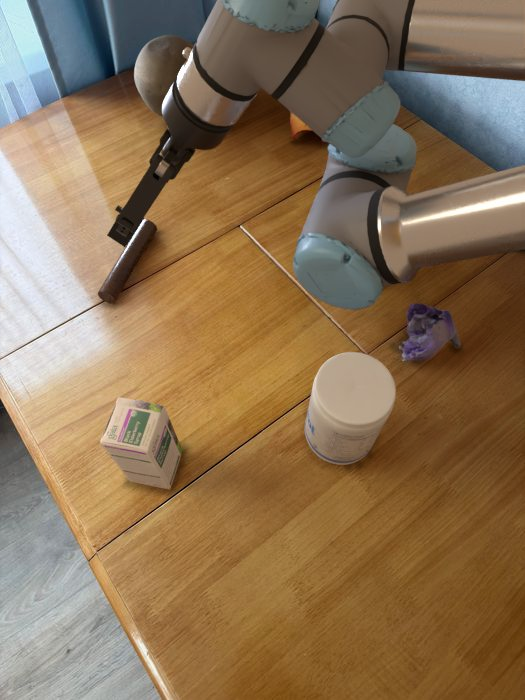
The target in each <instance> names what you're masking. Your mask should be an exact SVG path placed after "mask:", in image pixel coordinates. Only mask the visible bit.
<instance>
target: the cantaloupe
mask: <svg viewBox="0 0 525 700" xmlns="http://www.w3.org/2000/svg"><path fill="white" fill-rule="evenodd" d="M186 47H189V48H190V49H191V50H192V49H193V47H194V44H193V43H192V42H191V41H189V40H187V39H184V38H182V37H180V36H178V35H173V34H165V35H162V36H158V37H156V38H153V39H151V40H150V41H148V42H147V43H146V44H145V45H144V46H143V48H142V49H141V50H140V52H139V54H138V56H137V57H136V61H135V65H134V71H133V77H134V83H135V86H136V88H137V91H138V93H139V94H140V97H141V99H142V101H143V102H144V104H145V105H146V106H147V108H148V109H149V110H150V111H151V112H153V113H155V114H156V115H157V116H159V117H161V118H163V114H162V105H163V101H164V99H165V97H166V95H167V94H168V92H169V90H170V88H171V86H172V84H173V82H174V81H175V79H176V78H177V77H178V75H179V73H180V71H181V69H182V67H183V65H184V63H185V62H186V61H187V59H186V58H185V57H184V56H183V50H184V49H185V48H186Z"/></svg>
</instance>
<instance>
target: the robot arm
mask: <svg viewBox="0 0 525 700" xmlns="http://www.w3.org/2000/svg"><path fill="white" fill-rule="evenodd" d="M320 4H321V0H216V2H215V4H214V6H213V8H212V9H211V12H210V13H209V15H208V17H207V19H206V21H205V23H204V25H203V27H202V29H201V31H200V33H199V34H198V36H197V39H196V41H195V43H194V44H193V45H194V47H193V49H192V50H191V49H190V48H189V47H186V48H185V49H184V50H183V56H184V57H185V58H186V59H187V61H186V62H185V63H184V65H183V67H182V69H181V71H180V73H179V75H178V77H177V78H176V79H175V81H174V82H173V84H172V86H171V88H170V90H169V92H168V94H167V95H166V97H165V99H164V101H163V105H162V114H163V117H162V118H163V121H164V123H165V125H166V129H165V131H164V132H163V134H162V135H161V137H160V138H159V145H158V146H157V148H156V149H155V151H154V152H153V154H152V156H151V157H150V159H149V167H148V168H147V170H146V172H145V173H144V174H143V176H142V178H141V179H140V181H139V182H138V184H137V186H136V187H135V189H134V190H133V192H132V193H131V195H130V197H129V198H128V200H127V202H126V203H125V205H124V206H123V207H122V206H120V205H117V206H116V207H115V209H114V210H115V211H116V213H118V214H117V215H116V217H115V221H114V223H113V224H112V226H111V228H110V230H109V231H108V233H107V234H106V236H107V237H109V238H110V239H112V240H113V241H115V242H116V243H118V244H119V245H120V246H122V247H123V248H125V247H126V246H127V244H128V242H129V241H130V239H131V238H132V236H133V235H134V233H135V232H136V231H137V229H138V227H139V226H140V224H141V223H142V222H143V220H145V216H146V215H147V213H148V212H149V210H150V209H151V207H152V206H153V204H154V203H155V201H156V200H157V199H158V197H159V195H160V194H161V192H162V191H163V189H164V188H165V186H166V185H167V184H168V183H169V182H170V180H172V181H173V180H175V179H176V177H177V176H178V175H179V173H180V171H181V170H182V168H183V167H184V165H185V164H186V163H188V162H190V160H191V159H192V157H193V156H194V154H195V153H196V151H197V150H198V151H210V150H213V149H215V148H217V147H219V146H220V145H221V144H222V142H223V141H224V140H225V138H226V137H227V135H228V134H229V132H230V131H231V130H232V128H233V127H234V126H235V124H236V123H237V122H238V121H239V120H240V119H241V117H242V116H243V114H244V113H245V112H246V110H247V109H248V108H249V106H250V105H251V103H252V102H253V100H254V99H255V98H256V97H257V95H258V93H259V91H260V90H261V89H262V90H263V91H264V92H266V93H267V94H268V95H270V96H271V97H272V98H273V99H274V100H275V101H278V102H279V103H280V104H281V105H282V106H283V107H285V109H287V110H288V111H289V112H290V111H291V112H292V113H293V114H294V115H295V116H296V117H298V118H299V119H300V120H301V121H302V122H303V123H305V124H306V125H307V126H308V127H309V128H310V129H311V130H313V131H312V132H313V133H315V134H316V135H317V136H318V137H319V138H321V141H322V140H323V143H328V145H327V153H328V155H327V161H326V166H325V169H324V174H323V176H322V179H321V182H320V184H319V187H318V190H317V192H316V195H315V198H314V200H313V202H312V204H311V207H310V209H309V212H308V215H307V218H306V220H305V222H304V225H303V228H302V230H301V233H300V234H299V237H298V239H297V240H296V249H295V252H294V255H293V259H292V268H293V274H294V276H295V278H296V280H297V282H298V283H299V284H300V286H301V287H302V288H303V289H304V290H305V291H306V292H307V293H309V294H310V295H312V297H314V298H315V299H317V300H318V301H321V302H323V303H325V304H327V305H329V306H332V307H335V308H338V309H342V310H352V311H353V310H357V311H358V310H363V309H366V308H369V307H371V306H372V305H373V306H374V304H375V303H376V301H377V300H379V298H380V297H381V295H382V293H383V290H384V287H387V286H394V285H399V284H406V283H409V282H411V281H413V280H414V279H415V277H416V275H417V274H418V273H419V271H420V270H421V269H422V268H426V267H430V266H431V267H432V266H437V265H443V264H449V263H450V264H451V263H454V262H461V261H467V260H473V259H479V258H484V257H489V256H495V255H501V254H507V253H513V252H519V251H525V164H523V165H518V166H516V167H511V168H507V169H503V170H499V171H496V172H492V173H489V174H488V173H487V174H484V175H481V176H476V177H472V178H469V179H466V180H461V181H457V182H453V183H449V184H445V185H441V186H438V187H434V188H430V189H425V190H423V191H419V192H415V193H411V194H409V193H407V189H408V186H409V183H410V179H411V175H412V172H413V169H415V167H416V164H417V160H416V157H417V154H418V147H417V144H416V141H415V139H414V138H413V136H412V135H411V134H410V133H409V132H407V131H405V130H404V128H402V127H400V126H399V125H396V124H394V123H395V121H396V120H397V117H398V115H399V113H400V109H401V99H400V97H399V95H398V94H397V92H396V91H395V90H394V89H393V88H392V87H391V86H390V83H389V82H388V81H387V80H383V78H384V75H385V71H391V72H392V71H393V72H394V71H397V72H407V73H408V72H409V73H423V74H433V75H444V76H445V75H447V76H456V77H457V76H458V77H468V78H469V77H470V78H479V79H483V78H484V79H495V80H504V81H518V82H525V0H336V1H335V4H334V6H333V7H332V11H331V15H330V17H329V18H330V19H329V20H328V23H327V25H326V27H324V26H323V25H322V24H321V23H320V22H319V20H317V19H316V14H317V11H318V10H319V7H320Z"/></svg>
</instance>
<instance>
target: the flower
mask: <svg viewBox="0 0 525 700" xmlns="http://www.w3.org/2000/svg"><path fill="white" fill-rule="evenodd" d="M404 317H405V318H406V321H407V327H406V333H407V335H408V336H409V338H408V339H407V340H405V341H402V344H403V345H399V346H398V349H399V350H401V351H402V353H401V358H402V362H410V363H416V362H424V361H428V360H430V359H431V358H433V357H435V355H436V354H437V353H438V351H440V350H441V349H442V348H443V347H444V346H445V345H446V343H448V342H451V343H452V344H453V348H454V349H460V347H461V340H460V338H459V335H458V330H457V327H456V326H455V322H454V320H453V315H452V313H451V312H450V311H449V310H446V309H443V310H442V309H440V308H437V307H435V306H433V305H431V306H429V305H427V304H425V303H423V302H417V303H411V304H409V307H408V311H406V312H405V316H404Z"/></svg>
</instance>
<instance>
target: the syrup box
mask: <svg viewBox="0 0 525 700" xmlns="http://www.w3.org/2000/svg"><path fill="white" fill-rule="evenodd" d="M113 406H114V407H113V408H112V411H111V413H110V415H109V418H108V420H107V422H106V425H105V427H104V431H103V433H102V436H101V438H100V441H99V444H100V446H101V447H102V448H103V449H104V450H105V451H106V453H107V454H108V456H109V457H110V458H111V459H112V461H113V462H114V463H115V464H116V466H117V468H119V470H120V471H121V472H122V473H123V475H124V476H125V477H126V479H127V480H128V481H129V482H130V483H134V484H140V485H145V486H149V487H150V486H151V487H155V488H160V489H165V490H171V489H172V485H173V483H174V480H175V476H176V473H177V470H178V467H179V463H180V461H181V457H182V454H183V448H182V445H181V442H180V440H179V438H178V435H177V433H176V431H175V429H174V427H173V426H174V425H173V423H172V421H171V418H170V416H169V414H168V411H167V410H166V407H165V406H164V405H162V404H158V403H153V402H148V401H144V400H138V399H134V398H133V399H132V398H127V397H121V396H117V398H116V401H115V404H114V405H113Z"/></svg>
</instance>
